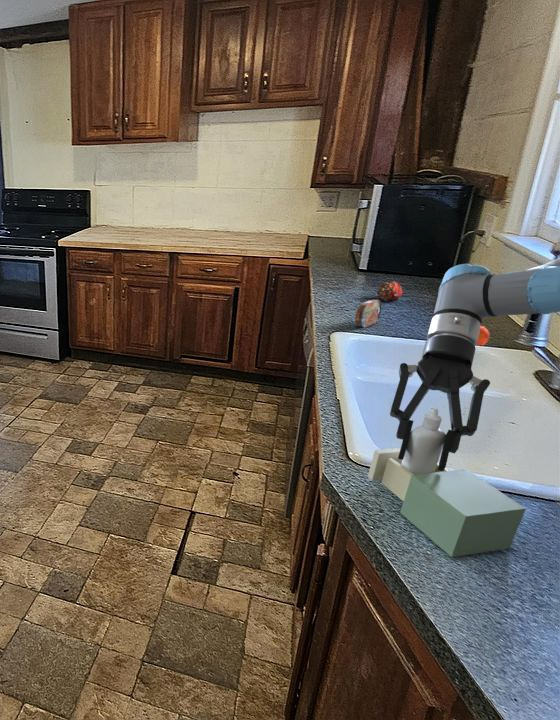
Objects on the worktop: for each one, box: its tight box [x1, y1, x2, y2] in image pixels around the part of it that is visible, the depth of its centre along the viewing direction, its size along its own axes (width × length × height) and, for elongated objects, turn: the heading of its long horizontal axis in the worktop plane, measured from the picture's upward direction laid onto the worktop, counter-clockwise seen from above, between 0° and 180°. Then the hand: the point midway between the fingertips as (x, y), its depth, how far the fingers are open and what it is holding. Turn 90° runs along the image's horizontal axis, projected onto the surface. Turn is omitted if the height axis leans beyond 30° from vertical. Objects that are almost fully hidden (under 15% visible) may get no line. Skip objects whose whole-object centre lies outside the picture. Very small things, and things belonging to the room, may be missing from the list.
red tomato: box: [477, 325, 490, 346], centre depth 166 cm, size 8×7×7 cm
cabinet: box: [399, 468, 527, 558], centre depth 85 cm, size 11×11×8 cm
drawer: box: [367, 447, 451, 502], centre depth 95 cm, size 11×10×6 cm
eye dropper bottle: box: [401, 408, 447, 475], centre depth 91 cm, size 4×6×12 cm
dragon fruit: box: [376, 281, 403, 302], centre depth 214 cm, size 8×8×12 cm
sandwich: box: [354, 299, 382, 329], centre depth 184 cm, size 15×3×8 cm, turn 129°
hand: (421, 462), depth 89 cm, fingers closed on eye dropper bottle, 5 cm apart
